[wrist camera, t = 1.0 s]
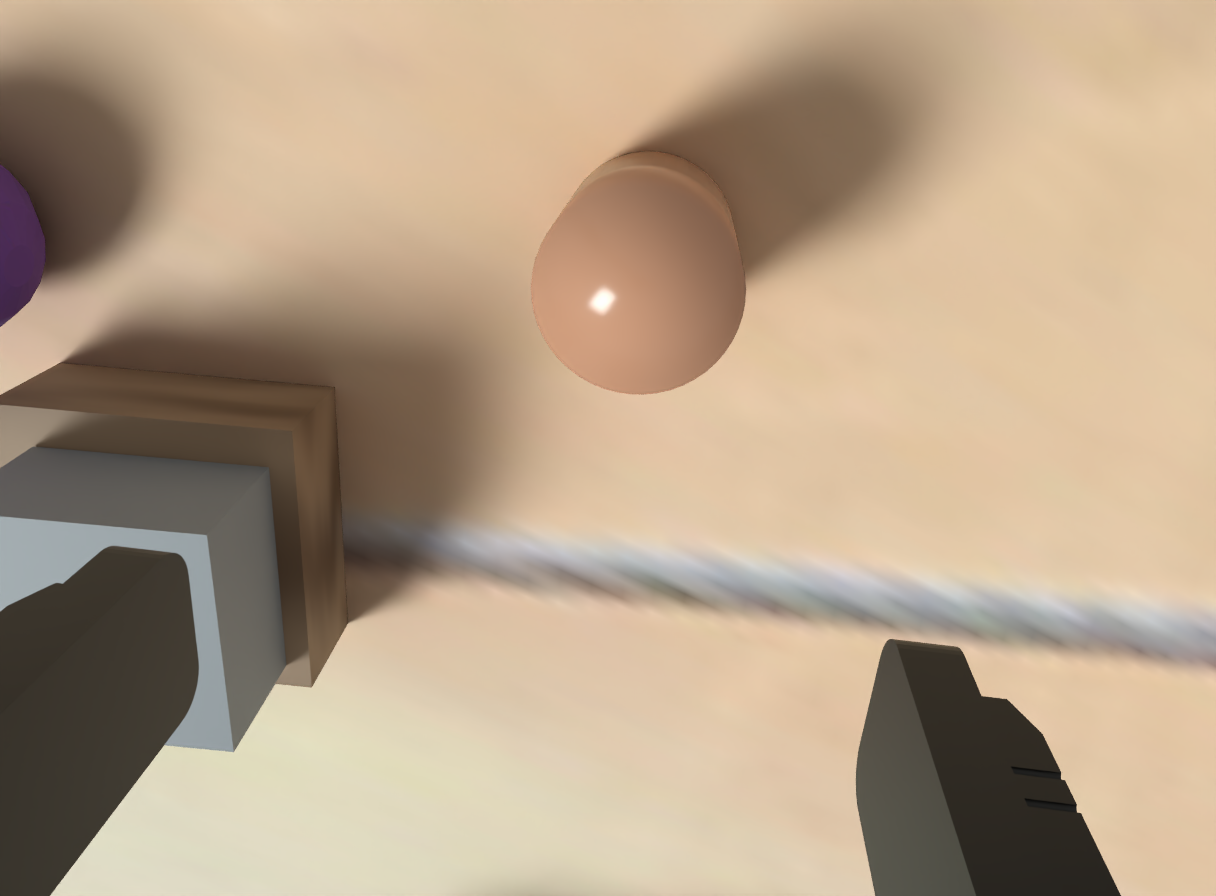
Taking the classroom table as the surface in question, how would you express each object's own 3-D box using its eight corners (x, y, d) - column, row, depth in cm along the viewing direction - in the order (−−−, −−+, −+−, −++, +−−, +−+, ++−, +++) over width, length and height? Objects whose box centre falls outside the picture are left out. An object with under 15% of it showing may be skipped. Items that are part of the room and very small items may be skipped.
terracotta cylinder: (566, 144, 27) (534, 175, 21) (744, 158, 27) (758, 192, 21) (558, 316, 29) (528, 385, 23) (724, 330, 29) (732, 403, 23)
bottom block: (67, 359, 31) (-16, 403, 27) (338, 383, 31) (292, 431, 27) (108, 593, 35) (40, 659, 31) (351, 617, 34) (311, 687, 31)
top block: (32, 446, 28) (-65, 510, 24) (268, 467, 28) (207, 535, 24) (72, 644, 31) (-9, 728, 27) (286, 664, 30) (233, 751, 27)
